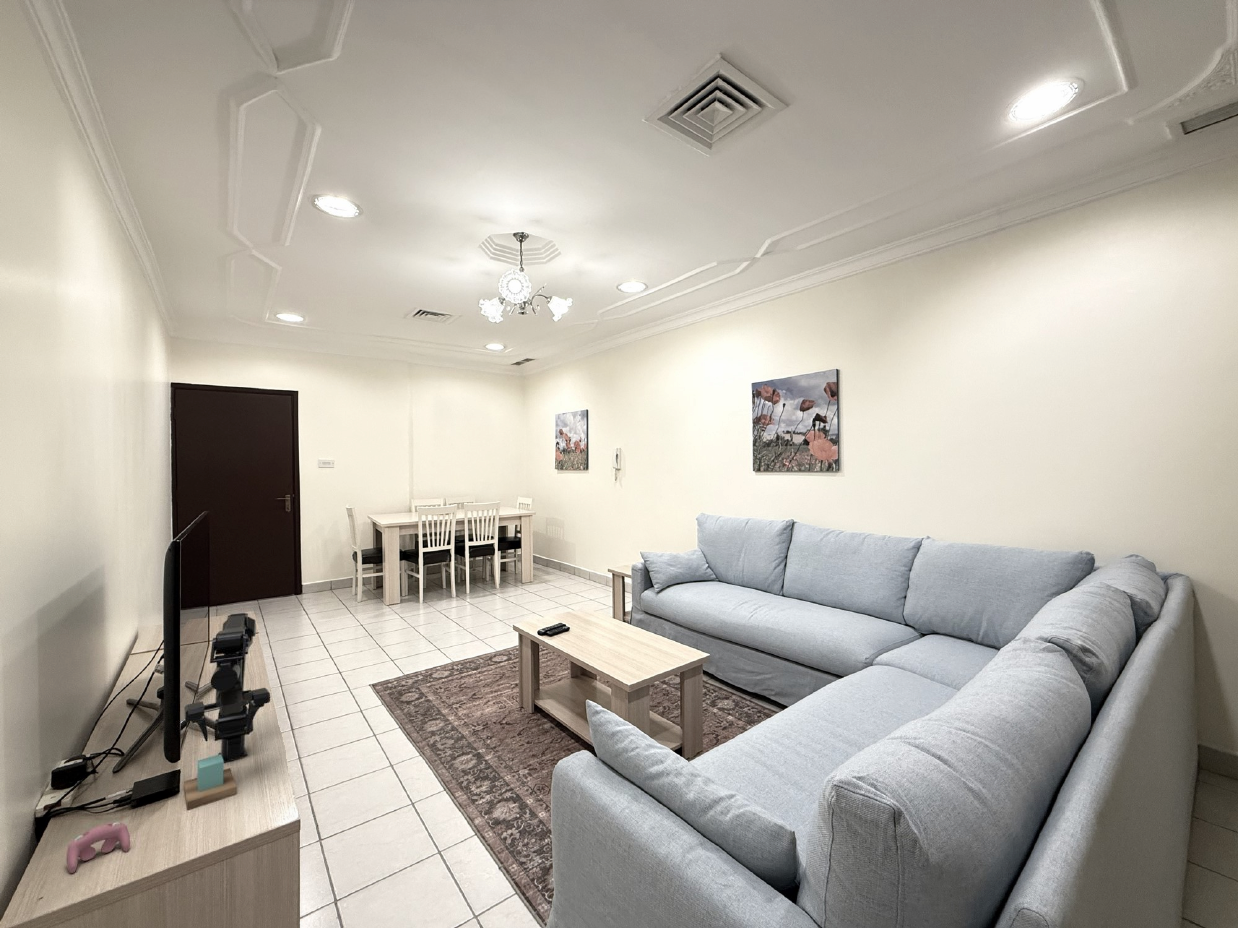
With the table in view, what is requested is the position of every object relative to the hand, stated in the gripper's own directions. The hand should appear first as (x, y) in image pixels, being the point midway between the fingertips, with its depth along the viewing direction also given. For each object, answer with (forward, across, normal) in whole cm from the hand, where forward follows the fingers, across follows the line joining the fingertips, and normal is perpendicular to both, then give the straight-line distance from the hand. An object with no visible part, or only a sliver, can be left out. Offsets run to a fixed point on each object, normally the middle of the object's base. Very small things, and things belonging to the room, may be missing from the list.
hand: (227, 735), depth 146 cm
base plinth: (+12, -4, -4) cm, 13 cm away
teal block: (+10, -4, -4) cm, 11 cm away
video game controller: (+12, -24, -18) cm, 33 cm away
